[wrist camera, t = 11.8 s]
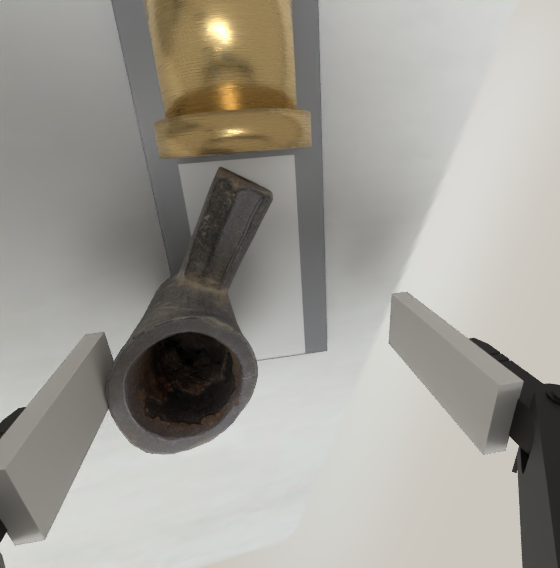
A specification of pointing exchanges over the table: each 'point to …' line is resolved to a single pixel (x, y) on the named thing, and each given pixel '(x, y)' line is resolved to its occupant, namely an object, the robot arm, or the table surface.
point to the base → (265, 172)
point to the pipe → (193, 334)
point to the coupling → (225, 77)
